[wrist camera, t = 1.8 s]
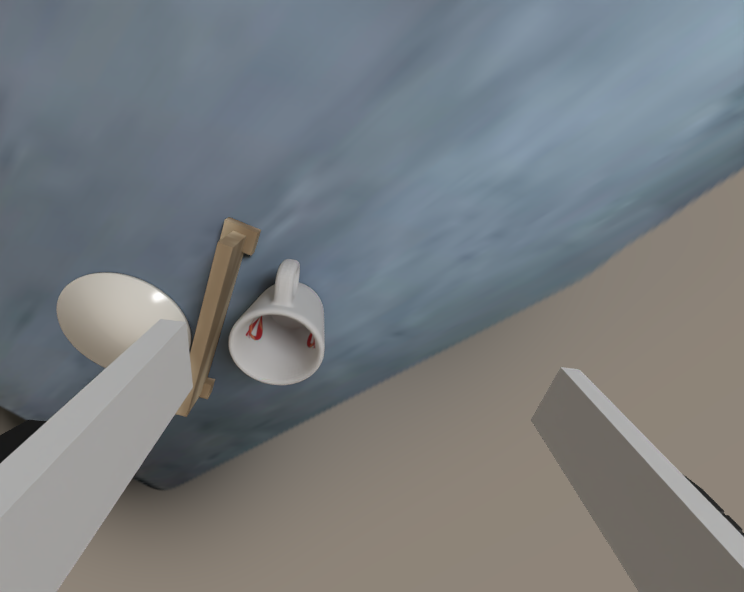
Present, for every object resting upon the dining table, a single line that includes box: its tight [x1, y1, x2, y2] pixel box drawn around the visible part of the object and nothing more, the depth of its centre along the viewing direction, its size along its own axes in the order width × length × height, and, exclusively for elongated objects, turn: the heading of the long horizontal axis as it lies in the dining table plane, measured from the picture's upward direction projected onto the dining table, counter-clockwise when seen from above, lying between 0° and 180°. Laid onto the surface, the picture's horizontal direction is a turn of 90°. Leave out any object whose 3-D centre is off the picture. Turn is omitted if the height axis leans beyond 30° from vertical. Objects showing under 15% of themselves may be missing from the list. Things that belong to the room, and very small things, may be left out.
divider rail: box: [175, 217, 261, 417], centre depth 31 cm, size 3×22×4 cm, turn 155°
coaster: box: [57, 272, 192, 368], centre depth 33 cm, size 13×13×1 cm
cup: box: [228, 259, 325, 385], centre depth 29 cm, size 11×8×8 cm
